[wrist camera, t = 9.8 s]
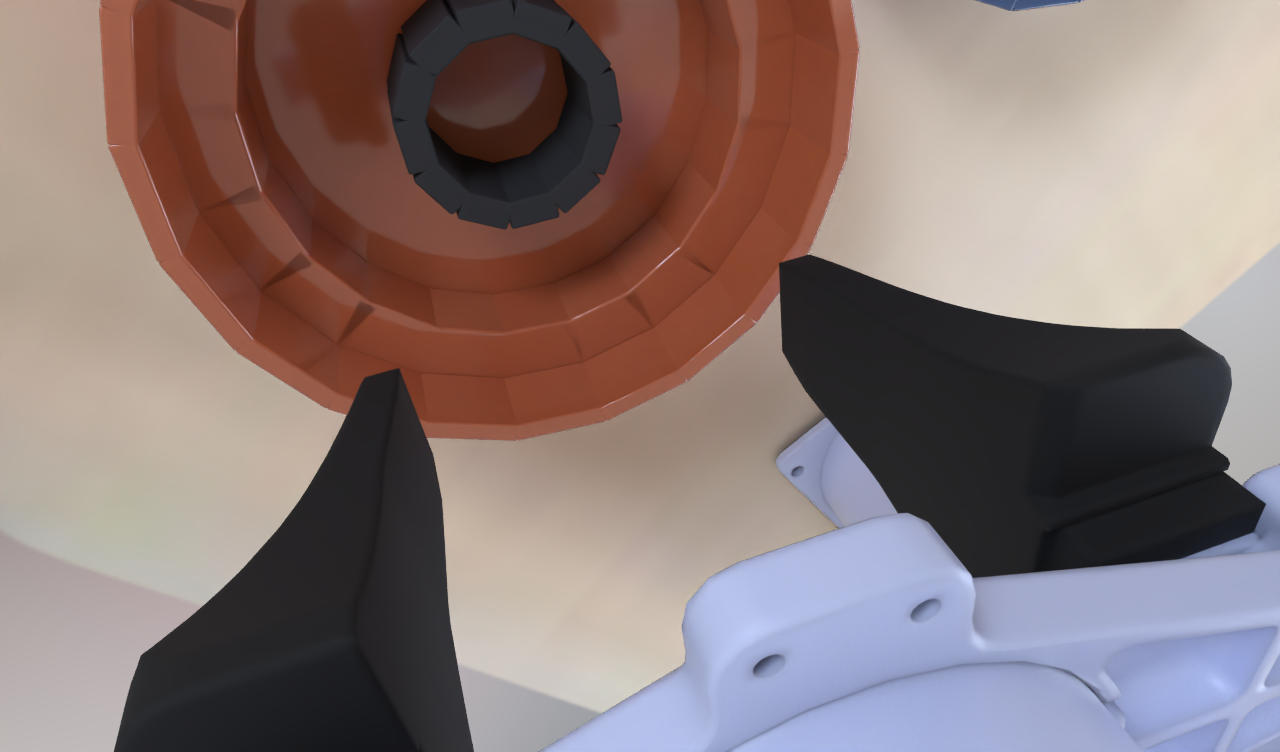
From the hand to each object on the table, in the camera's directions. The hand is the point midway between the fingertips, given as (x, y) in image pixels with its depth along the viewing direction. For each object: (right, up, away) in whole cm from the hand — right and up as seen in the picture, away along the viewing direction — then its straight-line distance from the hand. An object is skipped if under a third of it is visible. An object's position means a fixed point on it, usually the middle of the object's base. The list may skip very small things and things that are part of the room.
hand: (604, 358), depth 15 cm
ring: (-3, +7, +5) cm, 9 cm away
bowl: (-3, +7, +6) cm, 10 cm away
